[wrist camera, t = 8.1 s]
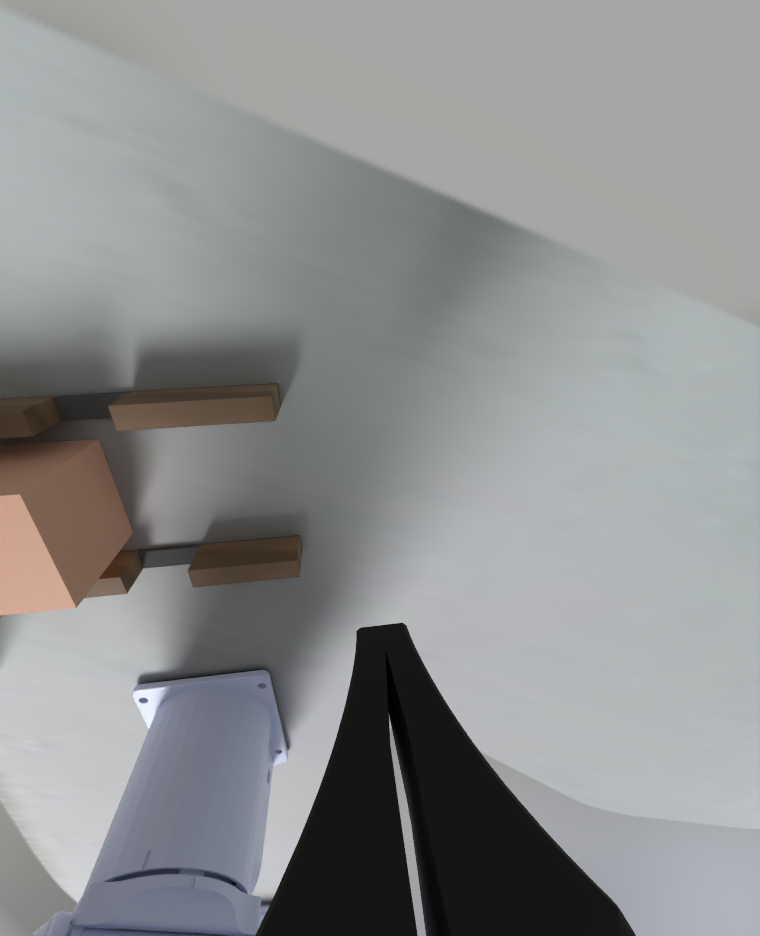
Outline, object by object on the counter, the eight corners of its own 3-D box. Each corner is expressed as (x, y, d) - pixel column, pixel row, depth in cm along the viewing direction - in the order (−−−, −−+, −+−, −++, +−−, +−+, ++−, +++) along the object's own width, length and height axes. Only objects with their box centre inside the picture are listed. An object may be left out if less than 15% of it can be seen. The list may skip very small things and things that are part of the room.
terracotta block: (134, 532, 20) (76, 607, 15) (26, 541, 19) (-67, 622, 15) (99, 437, 17) (20, 494, 13) (-24, 446, 17) (-151, 507, 12)
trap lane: (301, 551, 21) (297, 591, 18) (19, 577, 20) (-29, 624, 17) (277, 383, 17) (267, 403, 14) (-78, 403, 16) (-161, 429, 13)
